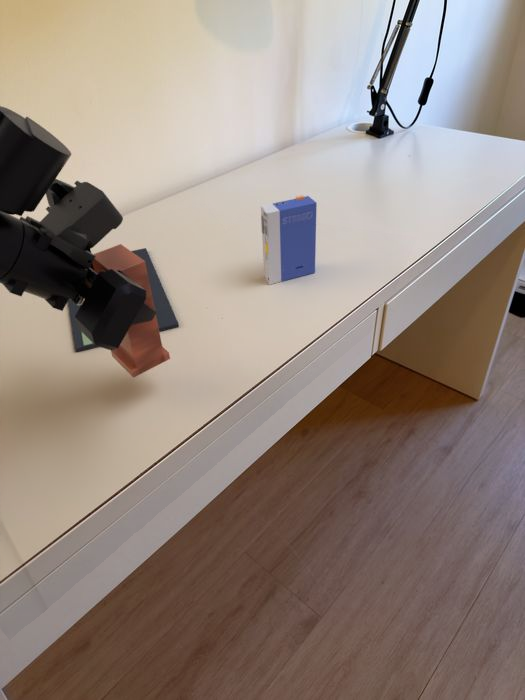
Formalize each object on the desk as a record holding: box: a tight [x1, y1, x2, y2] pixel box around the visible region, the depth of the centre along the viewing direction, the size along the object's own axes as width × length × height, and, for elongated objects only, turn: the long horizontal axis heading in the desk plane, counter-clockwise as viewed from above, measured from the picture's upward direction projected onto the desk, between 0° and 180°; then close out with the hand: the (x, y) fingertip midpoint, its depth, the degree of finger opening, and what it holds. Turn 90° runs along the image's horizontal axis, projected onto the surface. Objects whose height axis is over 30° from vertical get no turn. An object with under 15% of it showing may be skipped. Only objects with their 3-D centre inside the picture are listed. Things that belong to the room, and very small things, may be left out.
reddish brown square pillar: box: [92, 243, 171, 378], centre depth 57 cm, size 5×5×13 cm
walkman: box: [260, 194, 318, 285], centre depth 79 cm, size 8×3×12 cm, turn 112°
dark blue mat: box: [67, 247, 180, 353], centre depth 80 cm, size 24×14×1 cm, turn 21°
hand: (141, 305), depth 57 cm, fingers closed on reddish brown square pillar, 5 cm apart
